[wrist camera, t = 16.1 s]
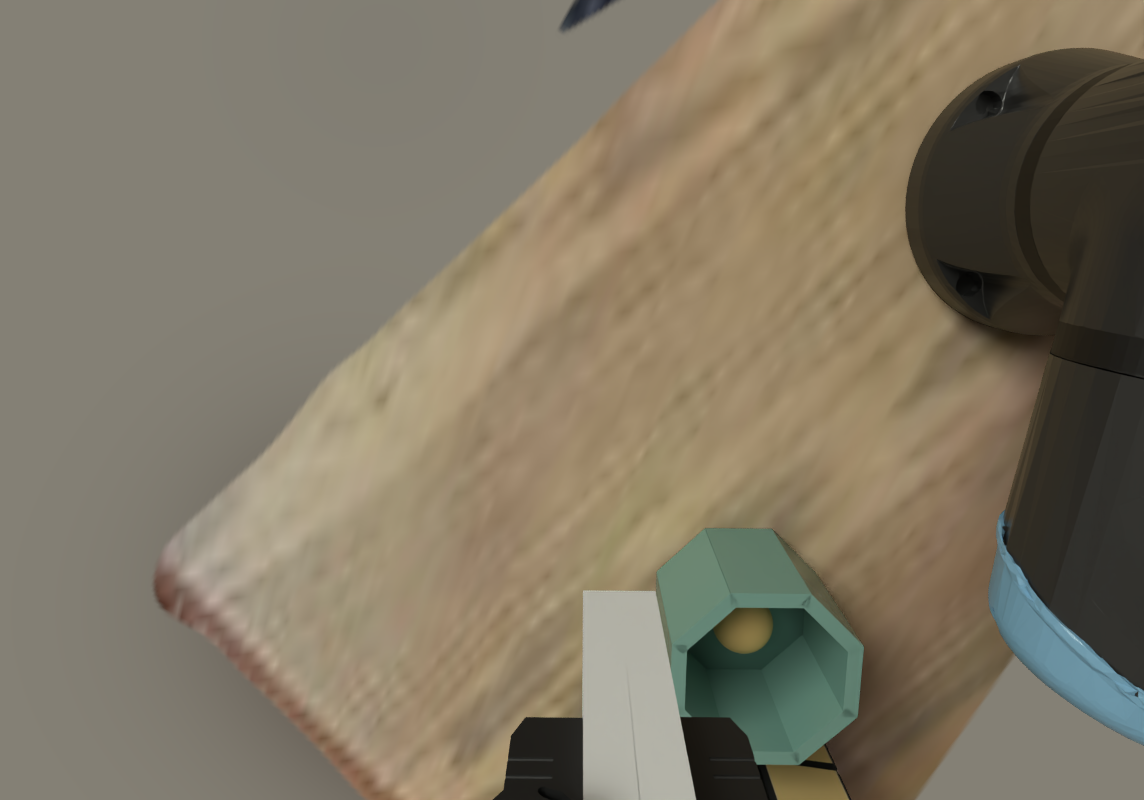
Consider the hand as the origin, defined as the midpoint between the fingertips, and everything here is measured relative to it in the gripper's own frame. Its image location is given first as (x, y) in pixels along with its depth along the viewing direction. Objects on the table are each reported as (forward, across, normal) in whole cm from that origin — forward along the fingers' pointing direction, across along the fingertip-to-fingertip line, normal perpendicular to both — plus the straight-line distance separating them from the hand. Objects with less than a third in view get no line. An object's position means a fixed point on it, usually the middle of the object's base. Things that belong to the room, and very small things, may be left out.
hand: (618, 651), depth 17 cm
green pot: (+32, +9, -15) cm, 37 cm away
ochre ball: (+32, +9, -15) cm, 36 cm away
